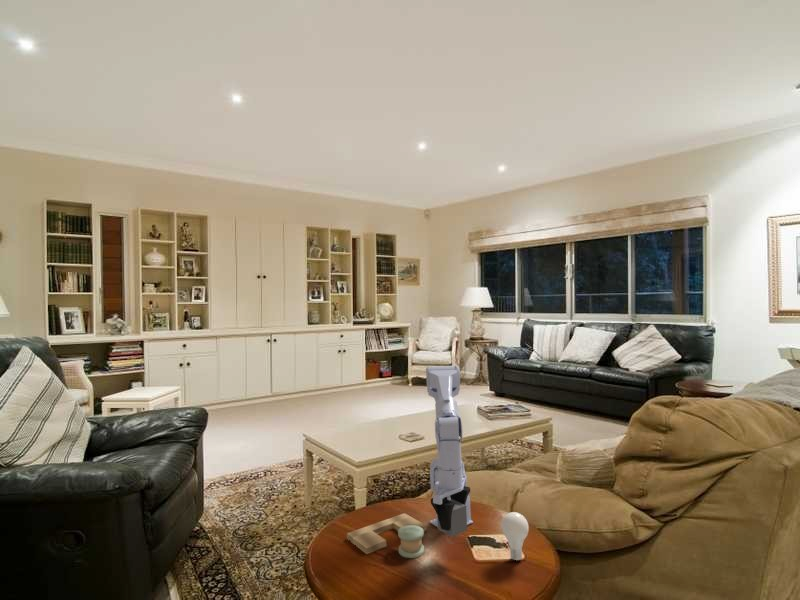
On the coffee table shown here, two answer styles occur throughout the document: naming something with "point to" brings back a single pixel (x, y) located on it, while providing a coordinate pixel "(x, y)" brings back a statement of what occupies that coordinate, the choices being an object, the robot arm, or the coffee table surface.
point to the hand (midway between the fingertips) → (452, 523)
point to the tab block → (456, 520)
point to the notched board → (369, 536)
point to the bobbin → (411, 541)
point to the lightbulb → (515, 533)
